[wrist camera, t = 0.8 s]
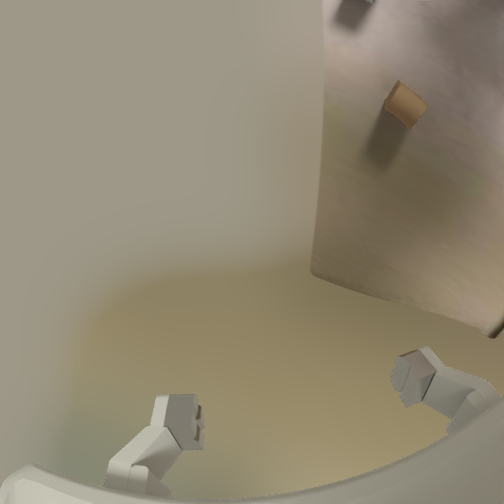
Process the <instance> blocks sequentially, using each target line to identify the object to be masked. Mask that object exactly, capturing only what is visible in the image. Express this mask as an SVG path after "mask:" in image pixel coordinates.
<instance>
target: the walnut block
mask: <svg viewBox="0 0 504 504" xmlns="http://www.w3.org/2000/svg"><path fill="white" fill-rule="evenodd" d="M427 107H428V105H427V104H426V103H425V101H424V100H423V99H422V98H421V97H420V96H419V95H417V94H416V93H415V92H414V91H412V90H411V89H410V88H408V87H407V86H406V85H405V84H403V83H402V82H401V81H399V80H398V82H397V83H396V85H395V86H394V88H393V89H392V91H391V92H390V93H389V95H388V96H387V98H386V99H385V106H384V109H386V110H387V111H388V112H390V113H391V114H392V115H393V116H395V117H396V118H397V119H399V120H400V121H401V122H402V123H404V124H405V125H406V126H407V127H408V128H410V129H411V128H412V127H413V126H414V125H415V123H416V122H417V121H418V119H419V118H420V117H421V115H422V114H423V113H424V111H425V110H426V109H427Z"/></svg>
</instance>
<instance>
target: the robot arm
mask: <svg viewBox="0 0 504 504" xmlns="http://www.w3.org/2000/svg"><path fill="white" fill-rule="evenodd" d="M395 364H396V367H395V368H394V369H393V370H392V374H391V382H392V385H393V387H394V389H395V390H397V391H399V392H400V398H401V400H402V402H403V403H404V405H405V406H406V407H408V406H411V405H414V404H416V403H418V402H421V401H422V402H423V403H424V404H426V405H428V406H429V407H431V408H433V409H434V410H436V411H438V412H440V413H441V414H443V415H445V416H447V417H448V418H450V419H452V420H451V421H450V423H449V424H448V426H447V428H446V430H447V432H448V434H449V435H447V436H445V437H444V438H442V439H440V440H438V441H437V442H435V443H433V444H431V445H429V446H427V447H425V448H423V449H421V450H419V451H417V452H415V453H413V454H411V455H409V456H407V457H404V458H402V459H400V460H398V461H395V462H393V463H390V464H388V465H385V466H383V467H381V468H378V469H375V470H372V471H370V472H367V473H364V474H361V475H358V476H355V477H352V478H348V479H345V480H342V481H338V482H335V483H331V484H327V485H323V486H319V487H314V488H310V489H305V490H300V491H294V492H289V493H283V494H276V495H268V496H259V497H249V498H233V499H188V498H172V497H171V490H170V489H169V488H168V487H167V486H166V485H164V484H163V483H162V482H161V481H160V480H161V479H162V478H163V476H164V475H165V474H166V473H167V471H168V470H169V469H170V468H171V466H172V465H173V464H174V462H175V461H176V460H177V458H178V457H179V456H180V454H181V453H182V452H183V451H182V450H203V447H204V435H203V433H202V429H203V428H204V414H203V410H202V407H201V406H200V405H198V398H197V395H195V394H184V395H183V394H180V395H179V394H178V395H176V394H174V395H173V394H172V395H171V394H170V395H166V394H161V395H160V394H159V395H158V396H157V397H156V401H155V405H154V410H153V415H152V419H151V424H150V426H146V427H145V428H144V429H143V430H142V431H141V432H140V433H139V434H138V435H137V436H136V437H135V438H134V439H133V440H131V442H129V443H128V444H127V445H126V446H125V447H124V448H123V449H122V450H121V451H119V452H118V454H116V455H115V456H114V457H113V458H112V459H111V460H110V462H109V466H108V470H107V474H106V478H105V483H104V486H99V485H96V484H92V483H88V482H85V481H82V480H78V479H75V478H72V477H69V476H66V475H63V474H60V473H57V472H54V471H52V470H49V469H47V468H45V467H42V466H40V465H37V464H34V463H33V464H32V463H31V464H28V465H26V466H24V467H22V468H20V469H18V470H17V471H15V472H14V473H12V474H10V475H9V476H8V477H7V478H6V479H5V481H4V482H3V484H2V486H1V488H0V504H504V396H503V397H501V396H500V395H499V393H498V392H497V391H496V390H495V389H494V387H493V386H492V385H491V384H490V383H489V382H488V381H487V380H484V379H481V378H478V377H475V376H473V375H470V374H467V373H464V372H462V371H459V370H456V369H454V368H451V367H447V368H446V367H445V366H444V365H443V363H442V362H441V361H440V360H439V359H438V357H437V356H436V355H435V354H434V353H433V352H432V350H431V349H430V348H429V347H427V346H425V347H422V348H420V349H417V350H414V351H411V352H408V353H406V354H403V355H400V356H398V357H397V358H396V360H395Z"/></svg>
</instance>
